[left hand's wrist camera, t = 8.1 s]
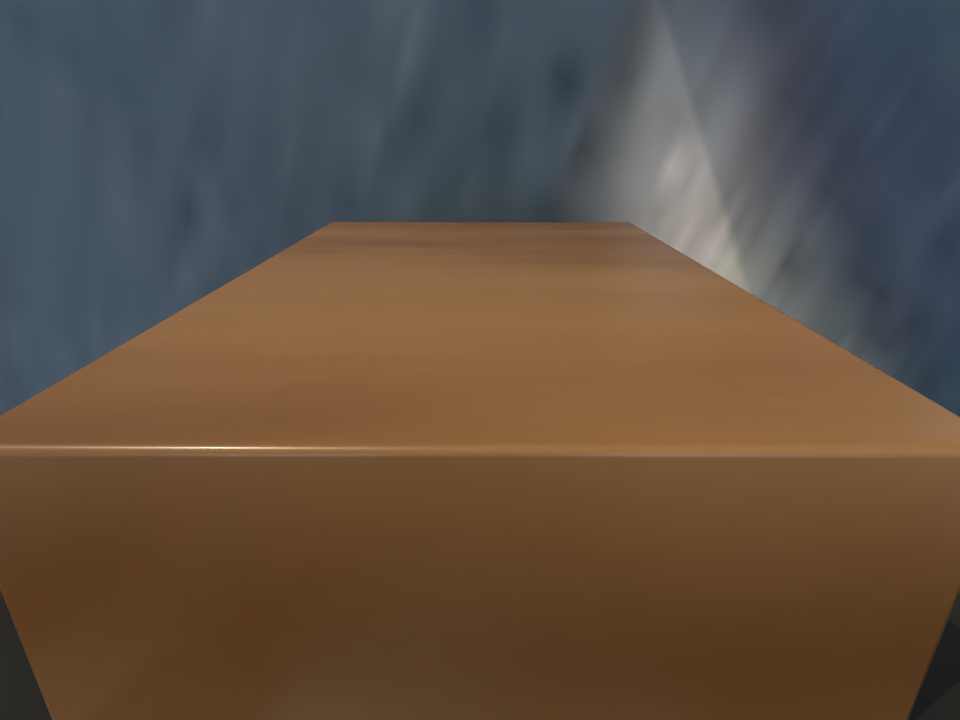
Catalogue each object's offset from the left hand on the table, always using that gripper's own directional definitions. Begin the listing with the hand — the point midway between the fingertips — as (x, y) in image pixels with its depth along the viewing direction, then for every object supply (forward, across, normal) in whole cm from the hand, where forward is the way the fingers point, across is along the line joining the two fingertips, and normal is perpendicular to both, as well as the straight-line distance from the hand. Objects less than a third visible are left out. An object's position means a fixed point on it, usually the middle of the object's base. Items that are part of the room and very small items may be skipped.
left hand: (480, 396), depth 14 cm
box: (+2, 0, -11) cm, 11 cm away
